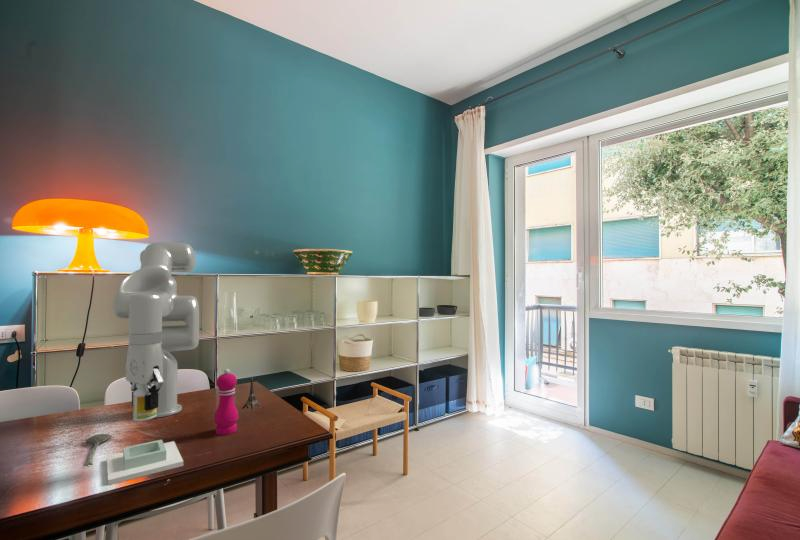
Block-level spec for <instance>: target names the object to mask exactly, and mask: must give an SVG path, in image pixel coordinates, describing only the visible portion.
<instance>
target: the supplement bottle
mask: <svg viewBox="0 0 800 540" xmlns="http://www.w3.org/2000/svg"><path fill="white" fill-rule="evenodd" d="M150 382H154V381H153V380H150ZM153 385H154V384H152V385H150V389H151V387H152V386H153ZM136 388H137V390H135V391H133V392H134V393H133V407H132V419H133V421H134V422H135V421H136V422H140V421H141V422H143V421H148V420H151V419H155V418H154V417H155V416H156V415H157V408H155V409H151V410H148V411H146V410H145V395H147V394H146V388H145V385H140V384H136Z"/></svg>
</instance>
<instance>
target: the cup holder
mask: <svg viewBox="0 0 800 540" xmlns="http://www.w3.org/2000/svg"><path fill="white" fill-rule="evenodd" d="M180 467H184V458H183V457H182V455H181V453H180V451H179V448H178V447H177V444H176V442H175V440H172V441H168V442H164V441H163V439H157V440H153V441H149V442H143V443H138V444H134V445H130V446H125V447H123V449H122V452H120V453H115V454H110V455H107V456H106V472H107V474H108V475H107V485H108V486H110V485H109V484H111V485H114V483H115V484H119V483H121V482H125V481H129V480H133V479H137V478H141V477H145V476H149V475H153V474H157V473H160V472H161V473H162V472H164V471H168V470H172V469H176V468H180ZM118 482H119V483H118Z"/></svg>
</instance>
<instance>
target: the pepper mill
mask: <svg viewBox="0 0 800 540" xmlns="http://www.w3.org/2000/svg"><path fill="white" fill-rule="evenodd" d="M230 371H231V370H230V369H228V368H225V369H224V370H223V374H221V375H219V376H218V378H217V379H216V387H217V388H218V390H217V393H218V395H219V402H218V406H217V408H216V411H215V413H214V417H213V421H214V423H215V424H216V426H215V434H216V435H219V436H226V435H230V434H233V433H235V432H237V430H238V424H237V421H238V420H239V414H238V410H237V408H236V403H235V401H234V400H235V399H234V394H235V393H236V391H235V390H236V388H235V387H236V385H237V383H238V379H237V377H236V375H234V373H230Z"/></svg>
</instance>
